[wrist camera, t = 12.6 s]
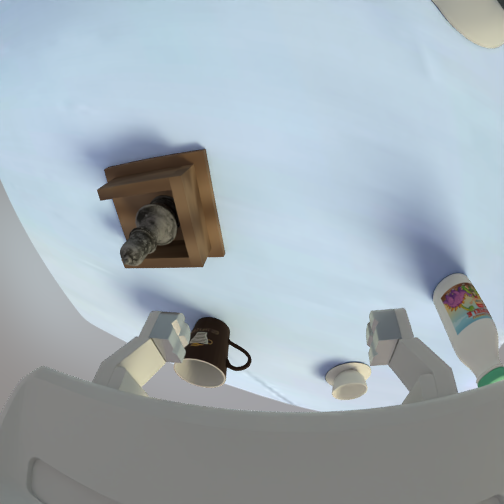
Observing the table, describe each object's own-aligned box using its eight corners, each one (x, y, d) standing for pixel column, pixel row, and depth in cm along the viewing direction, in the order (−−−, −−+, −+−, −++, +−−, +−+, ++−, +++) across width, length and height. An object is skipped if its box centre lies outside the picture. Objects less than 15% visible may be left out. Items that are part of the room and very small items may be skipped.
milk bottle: (461, 303, 41) (501, 393, 24) (427, 308, 42) (461, 407, 25) (473, 269, 37) (526, 361, 20) (437, 273, 38) (485, 376, 21)
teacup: (331, 359, 52) (333, 379, 48) (377, 361, 51) (380, 379, 47) (320, 384, 57) (320, 402, 54) (361, 385, 57) (363, 402, 53)
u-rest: (107, 167, 35) (85, 181, 31) (205, 149, 33) (191, 160, 28) (136, 255, 43) (120, 276, 39) (225, 252, 41) (216, 276, 36)
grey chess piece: (186, 234, 39) (152, 291, 29) (148, 229, 39) (107, 281, 29) (185, 195, 35) (145, 243, 25) (145, 191, 36) (96, 236, 26)
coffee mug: (187, 335, 53) (171, 377, 44) (193, 306, 48) (175, 351, 39) (244, 353, 53) (236, 396, 45) (258, 326, 48) (250, 374, 40)
